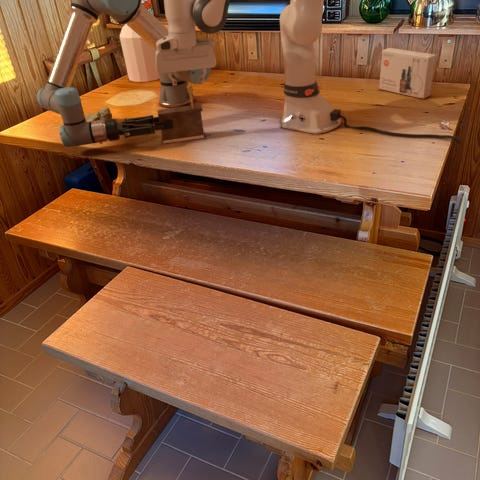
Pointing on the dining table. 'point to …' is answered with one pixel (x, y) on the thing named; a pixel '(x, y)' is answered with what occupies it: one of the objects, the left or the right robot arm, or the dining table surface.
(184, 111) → the lid
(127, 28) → the container
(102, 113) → the rock
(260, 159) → the dining table surface
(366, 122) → the dining table surface
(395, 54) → the skincare box
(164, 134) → the chest
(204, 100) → the dining table surface
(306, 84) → the right robot arm
